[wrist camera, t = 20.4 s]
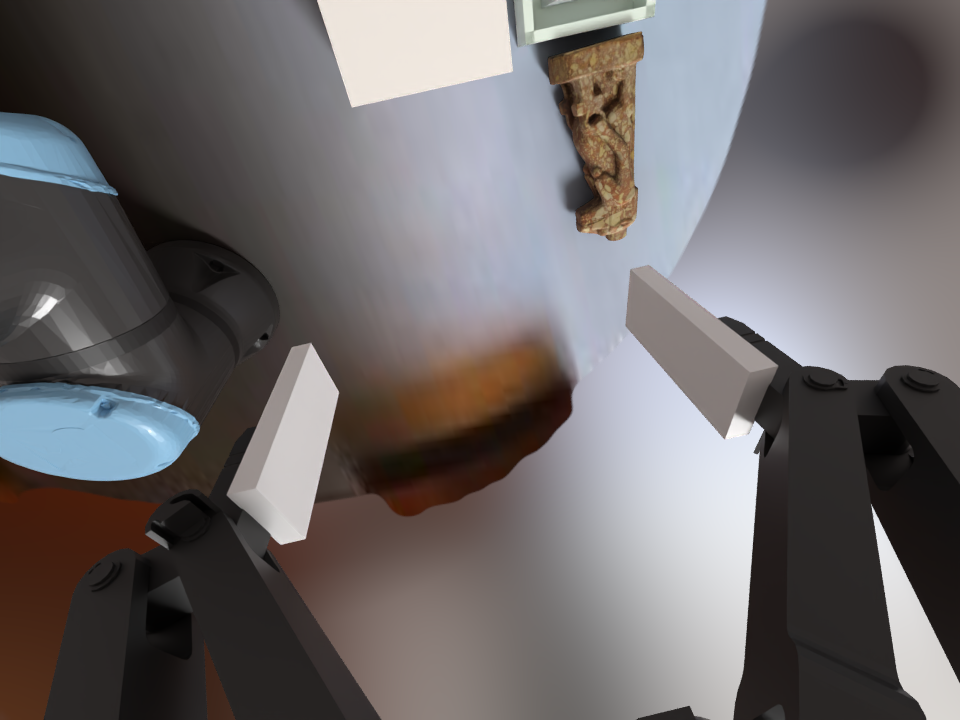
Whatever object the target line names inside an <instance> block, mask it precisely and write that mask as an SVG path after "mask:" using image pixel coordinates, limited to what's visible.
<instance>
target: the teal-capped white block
mask: <svg viewBox="0 0 960 720" xmlns="http://www.w3.org/2000/svg"><path fill="white" fill-rule="evenodd" d="M572 1H576V0H541V8H546V7H550V6H554V5H559V4H563V3H568V2H572Z"/></svg>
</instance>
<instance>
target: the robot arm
mask: <svg viewBox="0 0 960 720" xmlns="http://www.w3.org/2000/svg"><path fill="white" fill-rule="evenodd" d="M116 195H118V193H117V191H116V190H115V189H114V188H113V187H111V186H110V185H109V184H108V183H107V181H106V180H105V178H104V176H103V175H102V173H101V171H100V170H99V168H98V167H97V165H96V163H95V162H94V160H93V158H92V157H91V155H90V153H89V152H88V150H87V149H86V147H85V145H84V144H83V142H82V141H81V140H80V139H79V138H78V137H77V136H76V135H75V134H74V133H73V132H72V131H70V130H69V129H68V128H66V127H65V126H63V125H61V124H59V123H57V122H55V121H53V120H51V119H48V118H45V117H42V116H37V115H30V114H18V113H4V112H0V457H2V458H4V459H6V460H8V461H10V462H13V463H15V464H18V465H21V466H23V467H26V468H29V469H32V470H36V471H39V472H43V473H47V474H51V475H56V476H63V477H67V478H74V479H81V480H95V481H114V480H126V479H133V478H139V477H143V476H146V475H150V474H153V473H155V472H158V471H160V470H162V469H164V468H166V467H167V466H169V465H170V464H172V463H173V462H174V461H175V460H176V459H177V458H178V457H179V456H180V454H181V453H182V451H183V450H184V449H185V447H186V446H187V444H188V443H189V442H190V440H192V439H193V438H194V437H195V436H196V435H197V434H198V432H199V430H200V427H201V425H202V423H203V422H204V420H205V418H206V416H207V415H208V413H209V411H210V409H211V408H212V406H213V404H214V403H215V401H216V399H217V397H218V396H219V394H220V392H221V391H222V389H223V387H224V385H225V384H226V382H227V380H228V378H229V377H230V375H231V373H232V371H233V370H234V368H235V367H236V366H237V365H239V364H241V363H242V362H244V361H245V360H247V359H249V358H250V357H252V356H253V355H255V354H256V353H258V352H259V351H261V350H262V349H263V348H264V347H265V346H266V345H267V344H268V342H269V341H270V340H271V338H272V336H273V334H274V332H275V330H276V328H277V326H278V323H279V317H280V311H279V304H278V300H277V298H276V295H275V293H274V291H273V289H272V287H271V286H270V284H269V283H268V281H267V280H266V279H265V278H264V276H263V275H262V274H261V273H260V272H259V271H258V270H257V269H256V268H255V267H253V266H252V265H251V264H250V263H248V262H247V261H246V260H244V259H243V258H241V257H240V256H238V255H236V254H234V253H233V252H231V251H228V250H226V249H224V248H221V247H219V246H216V245H213V244H209V243H205V242H200V241H192V240H177V241H170V242H165V243H162V244H159V245H157V246H155V247H153V248H151V249H150V250H148V251H147V252H146V250H145V249H144V247H143V245H142V243H141V241H140V239H139V238H138V236H137V234H136V232H135V230H134V228H133V227H132V225H131V223H130V221H129V219H128V217H127V215H126V214H125V212H124V210H123V208H122V206H121V204H120V203H119V201H118V199H117V197H116ZM626 327H627V328H628V329H629V331H630V332H631V333H632V334H633V335H634V336H635V337H636V339H637V340H638V341H639V342H640V343H641V344H642V345H643V347H644V348H645V349H646V350H647V351H648V352H649V353H650V355H652V357H653V358H654V359H655V360H656V361H657V363H658V364H659V365H660V366H661V367H662V368H663V369H664V371H665V372H666V373H667V374H668V375H669V376H670V377H671V378H672V380H673V381H674V382H675V383H676V384H677V385H678V387H679V388H680V389H681V390H682V391H683V392H684V393H685V395H686V396H687V397H688V398H689V399H690V400H691V402H692V403H693V404H694V405H695V406H696V407H697V408H698V410H699V411H700V412H701V413H702V414H703V415H704V416H705V418H707V420H708V421H709V422H710V423H711V424H712V426H713V427H714V428H715V429H716V430H717V431H718V432H719V434H720V435H721V436H722V437H723V438H724V439H725V440H726V439H730V438H734V437H738V436H743V435H747V434H749V433H750V430H751V428H752V426H753V424H754V421H756V422H757V423H758V424H759V425H760V426H761V427H762V428H763V429H764V431H763V434H762V436H761V438H760V440H759V442H758V444H757V446H756V448H755V451H754V453H755V454H758V453H759V451H760V455H759V470H758V483H757V496H756V510H755V523H754V537H753V551H752V565H751V578H750V593H749V606H748V619H747V633H746V646H745V660H744V670H743V675H742V679H741V682H740V685H739V689H738V692H737V697H736V702H735V709H734V719H733V720H926V716H925V714H924V712H923V711H922V709H921V707H920V705H919V703H918V702H917V701H916V700H915V699H914V698H913V697H912V696H910V695H909V694H908V693H907V692H906V691H904V690H903V688H902V686H901V684H900V682H899V679H898V675H897V670H896V664H895V657H894V651H893V644H892V637H891V631H890V625H889V618H888V611H887V605H886V598H885V592H884V585H883V580H882V572H881V566H880V559H879V553H878V546H877V539H876V533H875V526H874V520H873V513H872V507H871V504H872V506H873V508H874V510H875V512H876V514H877V516H878V518H879V520H880V522H881V525H882V527H883V528H884V531H885V533H886V535H887V536H888V539H889V541H890V543H891V545H892V547H893V549H894V551H895V553H896V555H897V557H898V559H899V561H900V563H901V565H902V567H903V569H904V571H905V573H906V575H907V577H908V579H909V581H910V583H911V585H912V587H913V589H914V591H915V593H916V595H917V597H918V599H919V601H920V604H921V605H922V607H923V610H924V612H925V614H926V616H927V617H928V620H929V622H930V624H931V626H932V628H933V630H934V632H935V634H936V636H937V638H938V640H939V642H940V644H941V646H942V648H943V650H944V652H945V654H946V656H947V658H948V660H949V662H950V664H951V666H952V668H953V670H954V672H955V674H956V676H957V678H958V680H959V682H960V388H959V387H958V386H957V385H956V384H955V383H954V382H952V381H951V380H950V379H948V378H947V377H945V376H943V375H941V374H939V373H937V372H935V371H932V370H929V369H925V368H921V367H914V366H906V365H905V366H894V367H891V368H888V369H887V370H886V371H885V373H884V374H883V376H882V377H881V379H880V380H876V381H875V380H847V379H846V378H845V377H844V376H842V375H840V374H838V373H836V372H834V371H832V370H829V369H825V368H821V367H812V366H805V367H802V366H801V365H800V364H798V363H797V362H796V361H794V360H793V359H791V358H790V357H789V356H787V355H786V354H785V353H783V352H782V351H780V350H779V349H778V348H776V347H775V346H773V345H772V344H771V343H769V342H768V341H765V339H764V338H763V337H761V336H760V335H759V334H755V331H753V330H751V329H750V328H749V327H747V326H746V325H745V324H744V323H742V322H739V321H737V320H734V319H732V318H729V317H721V318H716V317H715V316H714V315H712V314H711V313H710V312H708V311H707V310H706V309H705V308H703V307H702V306H701V305H699V304H698V303H697V302H696V301H694V300H693V299H692V298H690V297H689V296H688V295H687V294H685V293H684V292H683V291H681V290H680V289H679V288H678V287H676V286H675V285H674V284H673V283H671V282H670V281H669V280H667V279H666V278H665V277H664V276H662V275H661V274H660V273H658V272H657V271H656V270H655V269H653V268H652V267H651V266H649V265H647V266H643V267H639V268H634V269H630V280H629V292H628V303H627V315H626ZM338 395H339V391H338V390H337V388H336V386H335V384H334V383H333V381H332V379H331V377H330V376H329V374H328V372H327V370H326V369H325V367H324V365H323V363H322V362H321V360H320V358H319V356H318V355H317V353H316V351H315V349H314V347H313V346H312V344H311V343H308V344H304V345H300V346H295V347H292V348H291V351H290V353H289V355H288V357H287V360H286V362H285V364H284V366H283V369H282V371H281V373H280V376H279V378H278V380H277V382H276V385H275V387H274V389H273V391H272V394H271V396H270V398H269V400H268V403H267V405H266V407H265V409H264V412H263V414H262V416H261V418H260V421H259V423H258V425H257V426H256V427H252V428H248V429H247V430H246V431H245V432H244V433H243V434H242V435H241V436H240V437H239V439H238V440H237V441H236V442H235V444H234V446H233V448H232V450H231V452H230V455H229V456H230V457H229V458H228V459H227V461H226V463H225V465H224V469H222V471H221V473H220V475H219V477H218V479H217V481H216V484H215V486H214V488H213V490H212V492H211V494H210V496H209V498H207V497H206V496H205V495H204V494H203V493H201V492H200V491H199V490H194V489H189V490H186V491H183V492H180V493H178V494H176V495H174V496H173V497H171V498H169V499H168V500H167V501H165V502H164V503H163V504H162V505H160V506H159V507H158V508H157V509H156V511H155V512H154V513H153V514H152V515H151V517H150V518H149V521H148V523H147V524H146V527H145V534H146V535H147V536H149V537H150V538H152V539H153V540H155V541H156V542H158V543H159V544H161V545H160V546H158V547H156V548H154V549H152V550H150V551H148V552H146V553H144V554H142V555H140V554H138V553H136V552H135V551H133V550H131V549H129V548H128V549H120V550H117V551H115V552H113V553H110V554H108V555H107V556H106V557H104V558H103V559H101V560H100V561H98V562H97V563H96V564H95V565H93V567H91V568H90V569H89V570H88V571H87V572H86V573H85V575H84V576H83V577H82V579H81V580H80V581H79V583H78V584H77V586H76V588H75V591H74V593H73V596H72V600H71V605H70V609H69V613H68V618H67V622H66V627H65V631H64V635H63V639H62V643H61V648H60V652H59V656H58V661H57V665H56V669H55V674H54V678H53V682H52V686H51V691H50V695H49V699H48V704H47V708H46V712H45V716H44V720H207V701H206V679H205V656H204V640H205V643H206V645H207V648H208V650H209V653H210V655H211V658H212V660H213V663H214V666H215V668H216V671H217V673H218V676H219V678H220V681H221V683H222V686H223V688H224V691H225V693H226V696H227V699H228V701H229V703H230V706H231V709H232V711H233V714H234V716H235V719H236V720H381V719H380V717H379V715H378V714H377V712H376V711H375V709H374V708H373V706H372V705H371V703H370V702H369V700H368V699H367V697H366V696H365V694H364V693H363V691H362V689H361V688H360V686H359V685H358V683H357V682H356V680H355V679H354V677H353V676H352V674H351V673H350V671H349V670H348V668H347V667H346V665H345V664H344V662H343V661H342V659H341V658H340V656H339V655H338V653H337V651H336V650H335V648H334V647H333V645H332V644H331V642H330V641H329V639H328V638H327V636H326V635H325V633H324V632H323V630H322V629H321V627H320V625H319V624H318V623H317V621H316V619H315V618H314V616H313V615H312V614H311V612H310V610H309V609H308V607H307V606H306V604H305V603H304V601H303V600H302V598H301V597H300V595H299V593H298V592H297V590H296V589H295V588H294V586H293V584H292V583H291V581H290V580H289V578H288V577H287V575H286V574H285V572H284V571H283V569H282V568H281V566H280V565H279V563H278V562H277V560H276V558H275V557H274V555H273V554H272V553H271V552H270V551H269V550H268V549H267V546H268V542H269V539H270V536H272V537H273V538H274V539H275V540H276V541H277V542H278V543H279V544H286V543H290V542H294V541H298V540H303V539H305V538H306V534H307V530H308V526H309V521H310V517H311V512H312V508H313V504H314V499H315V495H316V491H317V486H318V482H319V478H320V473H321V469H322V465H323V460H324V456H325V451H326V447H327V443H328V438H329V434H330V430H331V425H332V421H333V417H334V412H335V408H336V403H337V399H338ZM637 720H709V719H706V718H702V717H697V716H694V715H693V712H692V710H691V708H690V706H687V707H683V708H679V709H675V710H671V711H667V712H663V713H658V714H654V715H650V716H646V717H642V718H638V719H637Z"/></svg>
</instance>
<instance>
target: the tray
mask: <svg viewBox="0 0 960 720" xmlns="http://www.w3.org/2000/svg"><path fill="white" fill-rule="evenodd" d="M655 2H656V0H576V1H572V2H568V3H563V4H559V5H554V6H550V7H546V8H541V0H514V8H515V20H516V32H517V44H518V47H522V46H526V45H531V44H535V43H540V42H544V41H549V40H553V39H558V38H562V37H567V36H571V35H576V34H580V33H585V32H589V31H594V30H598V29H603V28H607V27H612V26H616V25H621V24H625V23H630V22H634V21H639V20H642V19H646V18H650V17H654V13H655Z"/></svg>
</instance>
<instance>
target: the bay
mask: <svg viewBox="0 0 960 720" xmlns="http://www.w3.org/2000/svg"><path fill="white" fill-rule="evenodd" d="M317 1H318V4H319V7H320V10H321V13H322V17H323V20H324V23H325V26H326V29H327V32H328V35H329V38H330V41H331V44H332V48H333V51H334V54H335V57H336V60H337V63H338V66H339V69H340V72H341V75H342V78H343V82H344V85H345V88H346V91H347V94H348V97H349V100H350V103H351V106H352V107H356V106H361V105H365V104H370V103H374V102H379V101H383V100H388V99H392V98H397V97H401V96H406V95H410V94H415V93H419V92H424V91H428V90H433V89H437V88H442V87H446V86H451V85H455V84H460V83H464V82H469V81H473V80H478V79H482V78H486V77H491V76H495V75H500V74H504V73H509V72H513V69H512V58H511V47H510V37H509V26H508V15H507V4H506V0H317Z"/></svg>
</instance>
